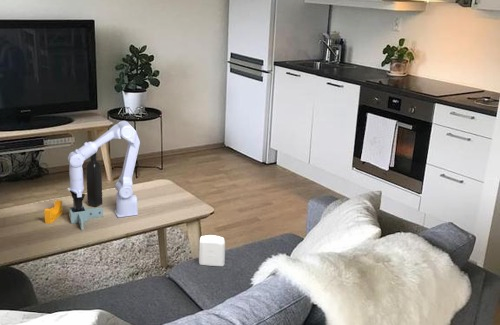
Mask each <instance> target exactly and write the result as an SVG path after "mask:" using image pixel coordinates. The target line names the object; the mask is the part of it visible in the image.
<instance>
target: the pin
mask: <svg viewBox="0 0 500 325" xmlns="http://www.w3.org/2000/svg"><path fill="white" fill-rule="evenodd" d="M72 204H73V206H72V207H73V208H74V212H80V211H83V206H84V205H83V202H82V207H81V209H76V206H75V202H74V199H73V198H72Z"/></svg>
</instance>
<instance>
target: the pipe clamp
mask: <svg viewBox="0 0 500 325" xmlns="http://www.w3.org/2000/svg"><path fill="white" fill-rule="evenodd" d="M62 214H63V200H57V199H56V200H54V206H51V208H45V209H44V224H48V225H51V224H53V222H55V221H56V220H57V219H58V218H59V217H60V216H61V215H62Z"/></svg>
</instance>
